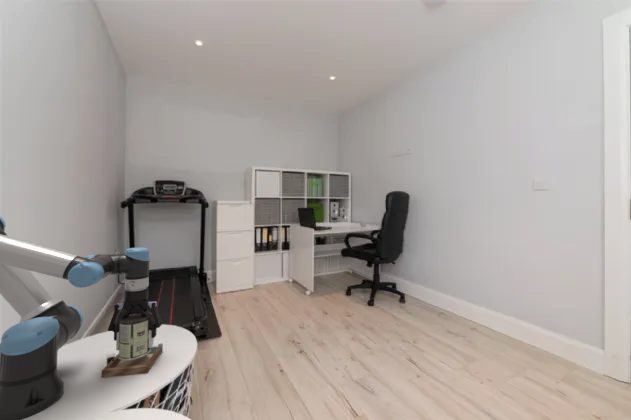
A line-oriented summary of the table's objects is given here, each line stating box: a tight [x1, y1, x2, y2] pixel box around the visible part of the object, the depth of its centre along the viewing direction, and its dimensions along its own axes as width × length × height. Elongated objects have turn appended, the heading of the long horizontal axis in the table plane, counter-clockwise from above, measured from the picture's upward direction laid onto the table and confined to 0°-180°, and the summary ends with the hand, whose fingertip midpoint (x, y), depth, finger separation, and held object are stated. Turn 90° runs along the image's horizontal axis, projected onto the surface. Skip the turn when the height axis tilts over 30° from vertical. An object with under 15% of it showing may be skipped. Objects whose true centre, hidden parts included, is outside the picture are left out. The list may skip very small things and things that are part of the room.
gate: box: [148, 343, 164, 354], centre depth 106 cm, size 14×2×3 cm, turn 97°
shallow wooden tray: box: [100, 348, 162, 379], centre depth 98 cm, size 14×13×2 cm
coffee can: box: [118, 311, 153, 360], centre depth 99 cm, size 10×10×14 cm
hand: (135, 347), depth 99 cm, fingers closed on coffee can, 10 cm apart
